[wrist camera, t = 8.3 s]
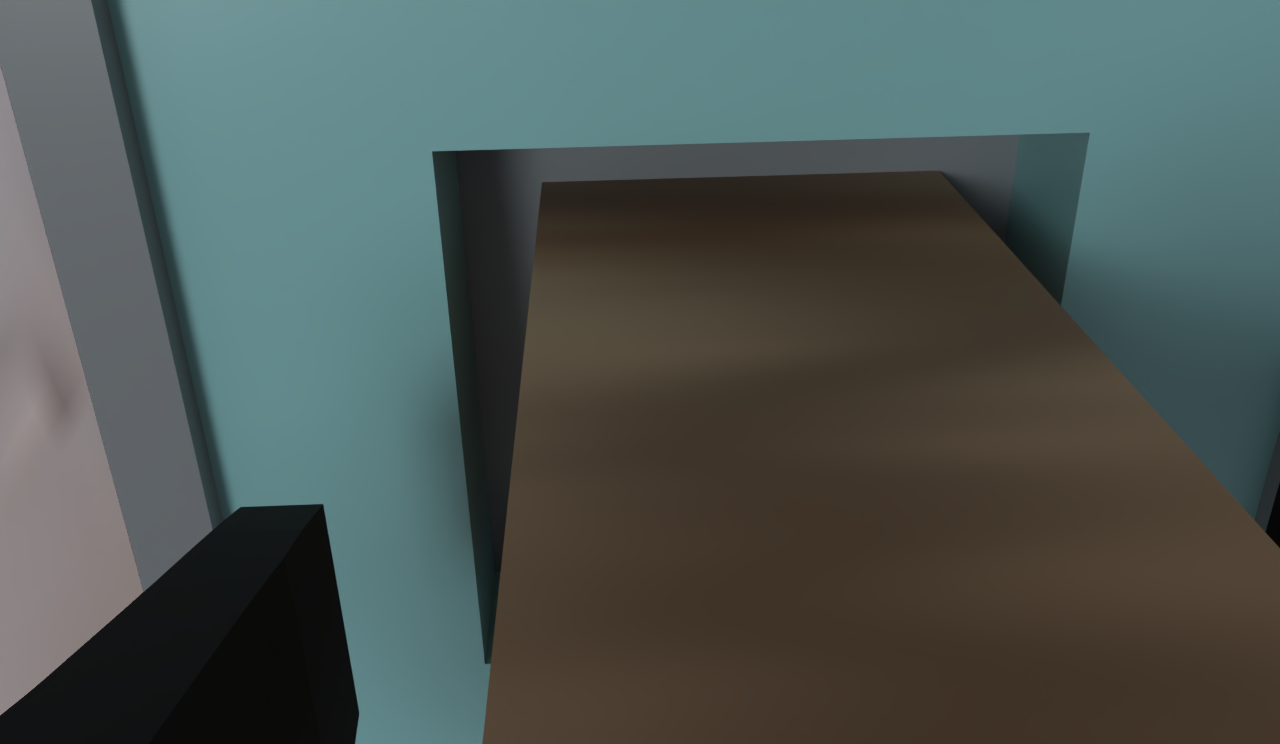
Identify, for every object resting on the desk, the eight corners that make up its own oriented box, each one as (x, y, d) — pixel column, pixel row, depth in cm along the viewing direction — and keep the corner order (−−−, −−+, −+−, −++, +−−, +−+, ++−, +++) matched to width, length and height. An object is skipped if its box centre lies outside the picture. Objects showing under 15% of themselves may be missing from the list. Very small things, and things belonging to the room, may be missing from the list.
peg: (939, 170, 12) (1503, 793, 4) (903, 501, 13) (1261, 1315, 6) (541, 182, 11) (473, 841, 4) (561, 515, 13) (534, 1359, 6)
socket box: (1401, -292, 10) (1624, -312, 8) (1151, 705, 16) (1243, 855, 14) (57, -269, 10) (-94, -283, 8) (279, 744, 16) (228, 904, 13)
